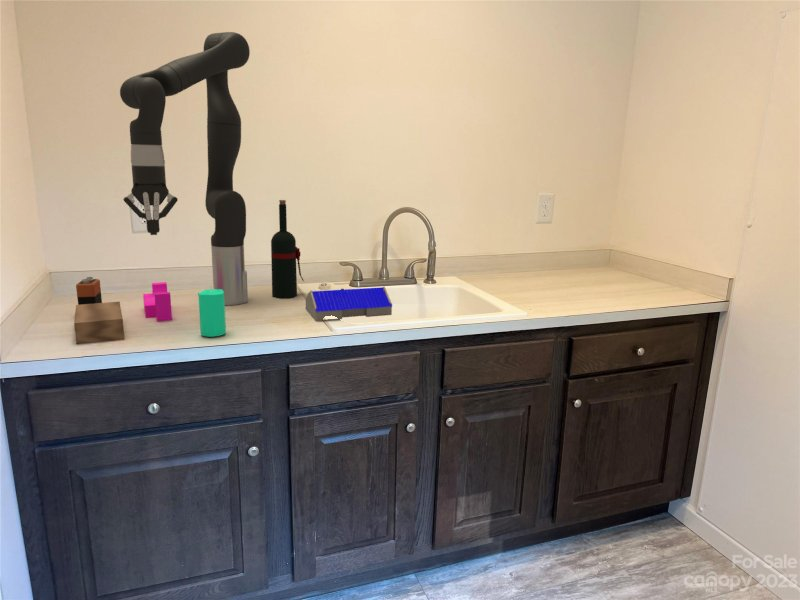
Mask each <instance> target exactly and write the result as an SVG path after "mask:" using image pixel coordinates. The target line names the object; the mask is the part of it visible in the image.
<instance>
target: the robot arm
mask: <svg viewBox="0 0 800 600" xmlns="http://www.w3.org/2000/svg"><path fill="white" fill-rule="evenodd" d="M250 55H251V50H250V45H249V43H248V41H247V39H246V38H245V36H243V35H242V34H240V33H238V32H234V31H228V32H227V31H225V32H215V33H210V34H208V35H207V37H206V38H205V40H204V44H203V51H201V52H197V53H194V54H193V53H192V54H190V55H186V56H183V57H180V58H177V59H174V60H172V61H169V62H168V63H166V64H163V65H161V66H159V67H157V68H156V69H154V70H150V71H147V72H143V73H140V74H136V75H133V76H132V77H130V78H128V79H126V80H124V82H122V84H121V86H120V89H119V95H120V99H121V100H122V102H123V104H124V105H126V106H127V107H129V108H131V109H134V110H138V116H137V118H135V119H133V120H132V121H130V123H129V136H130V139H129V140H130V163H131V175H132V176H131V177H132V188H131V191H130V193H129V194H128V195H127V196H124V197H123V202H125V204H126V205H127V206H128V207H129V209H131V210H132V211H133V212H134V213H135V215H137V216H138V217H139V218H140V219H144V220H145V221H146V231H147V233H148V234H149V235H150V236H157V235H158V233H160V220H161V219H162V218H166V217H167V215H168V214H169V213H170V211H171V210H172V209H173V207H174V206H175V205H176V204H177V202H178V198H177V197H176V196H174V195H173V194H171V193H170V192H169V189H168V186H167V179H166V178H167V177H166V165H165V164H166V160H165V154H164V150H163V149H164V148H163V140H162V139H163V138H162V136H163V135H162V124H163V120H164V114H165V108H166V98H167V97H170V96H176V95H177V94H180V93H181V92H183V91H185V90H186V89H189V88H190V87H192V86H194V85H196V84H198V83H200V82H202V81H205V80H206V81H205V82H206V103H207V105H206V107H207V111H206V112H207V115H206V116H207V118H206V122H207V123H206V133H207V134H206V136H207V137H206V139H207V183H206V192H205V199H204V200H205V204H204V205H205V209H206V211H207V214H208V215H209V216H210V217H211V218H212V219H214V226H215V227H214V231H213V234H212V235H211V237H210V245H211V246H210V247H211V248H210V249H211V263H212V264H211V267H212V282H213V284H212V285H213V286H212V287H213V288H212V289H222V290H223V291H224V301H225V306H236V305H241V304H244V303H245V304H246V303H247V304H248V303H249V301H248V300H249V299H248V297H249V295H248V294H249V293H248V272H247V270H246V266H245V261H246V260H245V242H244V241H245V237H246V234H247V207H246V201H245V199H244V197H243V195H241V194H240V193H239V192H237V191H236V190H234V186H233V183H234V182H233V181H234V179H233V177H234V170H235V165H236V162H237V159H238V155H239V152H240V149H241V144H242V119H241V115H240V112H239V109H238V108H237V106H236V104H235V102H234V99H233V98H232V95H231V93H230V89H229V80H228V79H229V77H228V76H229V75H228V73H229V71H230V70H234V69H235V70H236V69H239V68H242V67H244V66H245V65H246V64H247V63H248V61H249V59H250ZM135 199H136V201H138V203H140V204H141V206H143V210H144V212H142V211H141V209H139V208H138V207H137V206H136V204H135ZM165 199H166V202H167V203H166V204H165V206H164V208H163V209H162V210H161V211H160V206H161V205H162V204H163V202H164V201H165ZM151 206H152V211H151Z"/></svg>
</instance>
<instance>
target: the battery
mask: <svg viewBox="0 0 800 600" xmlns="http://www.w3.org/2000/svg"><path fill="white" fill-rule="evenodd" d="M75 288H76V297H77V305H82V304H94V303H103V300H102V299H103V298H102V290H101V289H102V287H101V280H100V279H99V278H94V276H87V277H86V278H83V279H81V280H80V281H79V282H78V283H76V285H75Z"/></svg>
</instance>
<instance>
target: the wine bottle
mask: <svg viewBox="0 0 800 600" xmlns="http://www.w3.org/2000/svg"><path fill="white" fill-rule="evenodd" d="M278 201H279V204H278V221H279V222H278V223H279V230H278V231H277V232H275V233H274V234H273V235H272V238H271V240H270V246H271V247H270V249H271V250H270V253H271V256H270V257H271V297H272V298H275V299H279V300H280V299H281V300H283V299H286V300H287V299H294V298H296V297H297V296H298V288H297V287H298V286H297V285H298V284H297V283H298V281H297V280H298V279H297V268H298V274H299V276H300V278H301V280H302V282H305V280H304V278H303V277H302V272H301V265H300V260H301V259H300V257H301V251H300V247H298V246H296V245H297V242H296V238H295V236H294V235H293V233H292V232H291V231H290V232H289V231H288V225H287V223H288V221H287V220H288V219H287V204H286V203H287V200H285V199H279V200H278ZM297 266H298V267H297Z"/></svg>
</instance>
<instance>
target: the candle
mask: <svg viewBox="0 0 800 600" xmlns="http://www.w3.org/2000/svg"><path fill="white" fill-rule="evenodd" d="M197 295H198V311H199V326H200V328H199V329H200V335H201V336H202V337H203V336H204V337H219V336H223V335H225V334H226V333H227V327H226V326H227V325H226V324H227V323H226V305H225V301H224V291H223V290H222V289H214V288H210V289H203V290H201V291H200V292H198V294H197Z"/></svg>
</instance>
